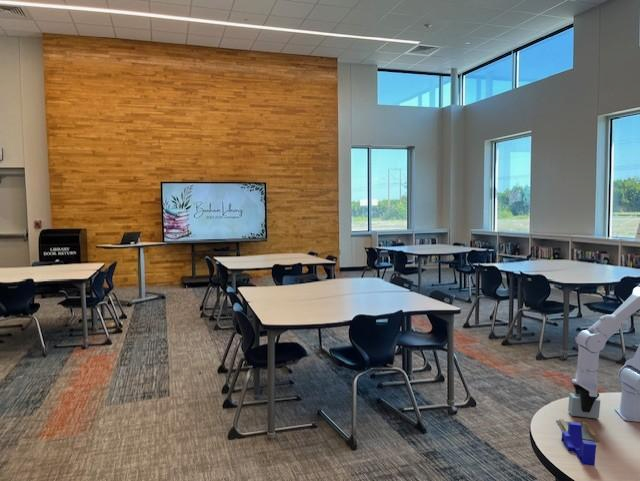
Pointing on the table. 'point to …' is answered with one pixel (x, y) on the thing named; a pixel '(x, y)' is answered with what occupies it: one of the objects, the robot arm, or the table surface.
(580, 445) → the cable clip
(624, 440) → the table surface
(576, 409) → the bar
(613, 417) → the table surface
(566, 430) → the guide rails
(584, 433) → the guide mat
